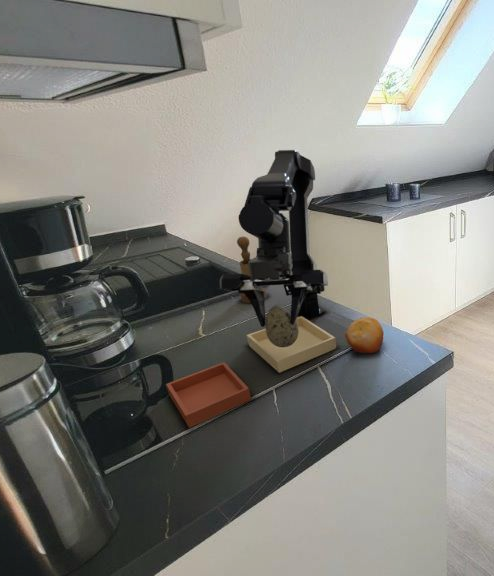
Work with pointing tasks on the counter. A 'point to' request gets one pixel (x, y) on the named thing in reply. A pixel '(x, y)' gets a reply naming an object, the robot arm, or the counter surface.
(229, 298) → the counter surface
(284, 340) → the decorative egg
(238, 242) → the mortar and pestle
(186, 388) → the terracotta tray
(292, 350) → the sand tray
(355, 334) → the fruit
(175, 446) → the counter surface
